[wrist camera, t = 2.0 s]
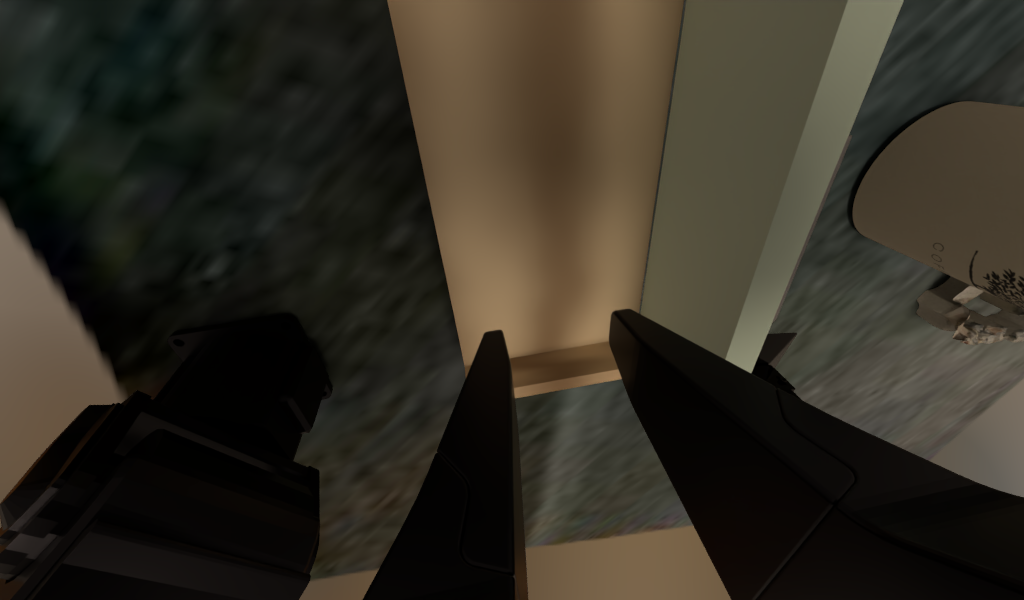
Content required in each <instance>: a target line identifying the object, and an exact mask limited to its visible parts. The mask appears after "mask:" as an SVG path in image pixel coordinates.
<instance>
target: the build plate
mask: <svg viewBox="0 0 1024 600" xmlns="http://www.w3.org/2000/svg"><path fill="white" fill-rule="evenodd" d="M796 335H797V333H780V334H767V336H766V339H765V341H764V344H763V346H762V349H761V351H760V353H759V356H758V358H757V361H756V363H755V366H754V368H753V371H752V373H751V374H753V375H755V376H757V377H759V378H761V379H763V380H764V381H766V382H768V383H770V384H772V385H774V386H775V388H776V389H777V388H780V389H781V390H783V391H785V392H787V393H789V394H791V395H793V396H795V397H796V398H798V399H800V398H799V397H798V396H797V395H796V394H795V393H794V392H793V391H794V390H795V388H794V387H793V386H792V385H791V384H790V383H789V382H788V381H787V380H786V379H785V378H784V377H783V376H782V375H781V374H780V373H779V372H778V371H777V370H776V369H775V367H776V365H777V364H778V362H779V361H780V359H781V358H782V356H783V355H784V353H785V352H786V350H787V349H788V347H789V346H790V344H791V343H792V341H793V340H794V338H795V337H796ZM800 400H801V399H800Z"/></svg>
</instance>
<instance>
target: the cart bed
mask: <svg viewBox="0 0 1024 600" xmlns="http://www.w3.org/2000/svg"><path fill="white" fill-rule="evenodd" d="M387 1H388V6H389V11H390V15H391V20H392V25H393V30H394V34H395V39H396V44H397V48H398V53H399V58H400V63H401V67H402V72H403V77H404V81H405V86H406V91H407V96H408V100H409V105H410V110H411V114H412V119H413V124H414V129H415V133H416V138H417V143H418V147H419V152H420V157H421V162H422V166H423V171H424V176H425V181H426V185H427V190H428V195H429V199H430V204H431V209H432V214H433V218H434V223H435V228H436V232H437V237H438V242H439V247H440V251H441V256H442V261H443V265H444V270H445V275H446V280H447V284H448V289H449V294H450V298H451V303H452V308H453V313H454V317H455V322H456V327H457V331H458V336H459V341H460V346H461V350H462V355H463V360H464V364H465V373H466V377H467V374H468V372H469V370H470V367H471V365H472V362H473V360H474V357H475V355H476V352H477V350H478V347H479V345H480V342H481V340H482V337H483V335H484V333H485V332H487V331H493V330H502V331H503V334H504V338H505V341H506V345H507V349H508V353H509V357H510V362H511V367H512V376H513V385H514V394H515V398H519V397H525V396H530V395H536V394H541V393H547V392H552V391H558V390H563V389H569V388H574V387H580V386H585V385H591V384H596V383H602V382H607V381H613V380H618V379H622V378H621V375H620V372H619V370H618V367H617V364H616V362H615V359H614V356H613V354H612V351H611V348H610V345H609V329H610V319H611V314H612V312H613V311H615V310H621V309H632V310H634V311H636V312H638V313H639V308H640V301H641V294H642V287H643V280H644V274H645V267H646V260H647V253H648V246H649V239H650V232H651V225H652V218H653V211H654V204H655V197H656V190H657V183H658V177H659V170H660V163H661V156H662V149H663V142H664V135H665V128H666V121H667V114H668V107H669V100H670V93H671V86H672V80H673V73H674V66H675V59H676V52H677V45H678V38H679V31H680V24H681V17H682V10H683V3H684V0H387Z"/></svg>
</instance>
